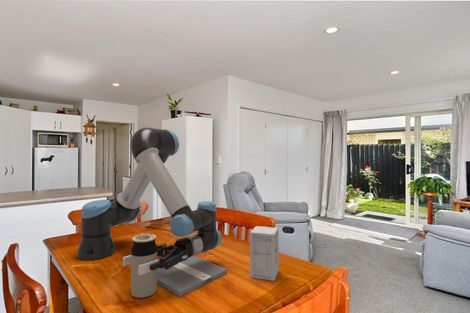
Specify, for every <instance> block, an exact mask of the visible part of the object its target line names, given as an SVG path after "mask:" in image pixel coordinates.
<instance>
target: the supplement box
mask: <svg viewBox="0 0 470 313" xmlns="http://www.w3.org/2000/svg"><path fill="white" fill-rule="evenodd" d="M279 244H280V243H279V227H269V226H260V225H256V226H255V227H253V229H252V230H251V231H250V233H249V278H253V279H259V280H266V281H271V282H274V281H276V278H277V276H278V274H279V272H280V260H279V258H280V256H279V254H280V252H279V249H280V248H279V246H280V245H279Z"/></svg>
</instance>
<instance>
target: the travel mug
mask: <svg viewBox="0 0 470 313" xmlns="http://www.w3.org/2000/svg"><path fill="white" fill-rule="evenodd" d="M156 239H157V235H156V234H153V233H152V234H151V233H141V234H138V235H134V236H133V237H132V238H131V240H132V242H133V243H132V246H131V248H130V250H131V251H130V255H131V264H130V295H131V296H132V297H134V298H140V299H142V298H143V299H144V298H149V297H150V296H152V295H155V294H156V292H157V291H158V284H157V269H156V270H153V271H150V272H147V273H145V274H142V275H138V266H139V265H142V264H145V263H148V262H151V261H154V260H157V259H158V257H157V246H158V244H157V243H156Z"/></svg>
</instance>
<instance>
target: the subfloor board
mask: <svg viewBox="0 0 470 313" xmlns="http://www.w3.org/2000/svg"><path fill="white" fill-rule="evenodd" d="M226 274H228V269H227V268H225V267H223V266H220V265H217V264H215V263H213V262H210V261H207V260H205V259H203V258H200V257H198V256H196V255H195V256H192V257H190V258H187V260H185V261H182V262H180V263H178V264H176V265H174V266H173V267H171V268H169V269H167V270H165V269H164V268H162V269H160V268H158V269H157V285H159V286H161V287H162V288H164V289H166V290H168V291H169V292H171V293H172V294H174V295H176V296H178V297H183V296H185V295H186V294H189V293H191V292H193V291H194V290H196V289H198V288H200V287H202V286H204V285H207V284H209V283H210V282H212V281H215V280H217V279H218V278H221V277H222V276H225V275H226Z"/></svg>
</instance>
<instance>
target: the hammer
mask: <svg viewBox="0 0 470 313" xmlns="http://www.w3.org/2000/svg"><path fill="white" fill-rule="evenodd" d="M170 222H171V220H164V221H157V222H146V223H145V224H144V227H146V228H149V227H154V226H160V225H161V226H162V225H163V226H164V225H170Z"/></svg>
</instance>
